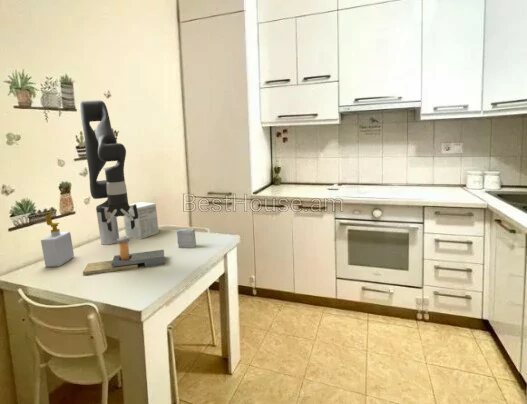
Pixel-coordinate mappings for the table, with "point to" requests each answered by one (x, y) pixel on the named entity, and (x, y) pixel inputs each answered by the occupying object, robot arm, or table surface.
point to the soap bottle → (56, 246)
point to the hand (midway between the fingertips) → (121, 229)
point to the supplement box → (142, 221)
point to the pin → (123, 248)
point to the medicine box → (186, 238)
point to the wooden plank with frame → (126, 262)
